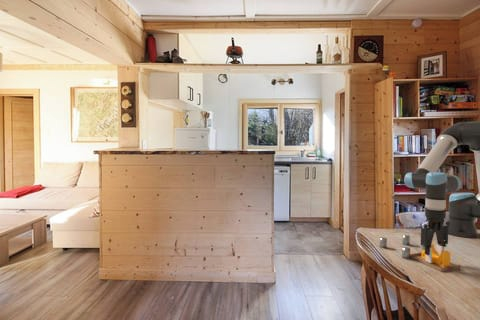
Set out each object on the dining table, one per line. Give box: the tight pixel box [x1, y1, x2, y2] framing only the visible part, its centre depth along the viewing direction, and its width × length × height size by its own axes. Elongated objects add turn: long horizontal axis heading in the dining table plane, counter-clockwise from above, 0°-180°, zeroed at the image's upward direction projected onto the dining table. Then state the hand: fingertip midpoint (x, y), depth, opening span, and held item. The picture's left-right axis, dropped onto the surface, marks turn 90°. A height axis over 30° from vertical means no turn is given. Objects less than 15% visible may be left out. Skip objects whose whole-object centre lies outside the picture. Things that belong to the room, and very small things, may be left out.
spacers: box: [379, 234, 425, 260], centre depth 147 cm, size 17×18×4 cm
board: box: [410, 252, 461, 273], centre depth 132 cm, size 10×16×2 cm, turn 15°
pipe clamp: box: [420, 243, 451, 267], centre depth 131 cm, size 12×4×6 cm, turn 1°
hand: (433, 260), depth 132 cm, fingers closed on pipe clamp, 5 cm apart
